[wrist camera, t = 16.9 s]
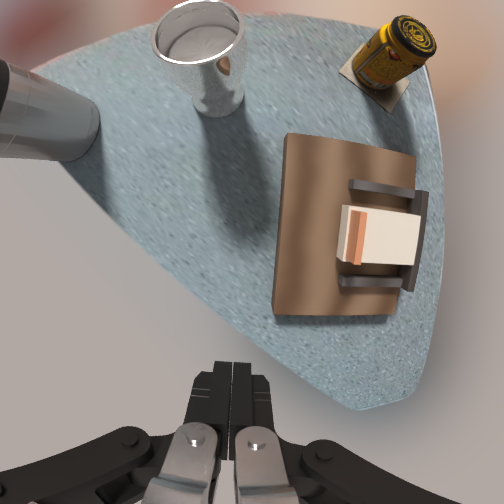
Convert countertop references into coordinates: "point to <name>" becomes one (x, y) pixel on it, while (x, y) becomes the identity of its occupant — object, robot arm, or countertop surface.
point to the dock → (328, 226)
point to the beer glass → (204, 53)
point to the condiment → (390, 59)
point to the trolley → (377, 236)
